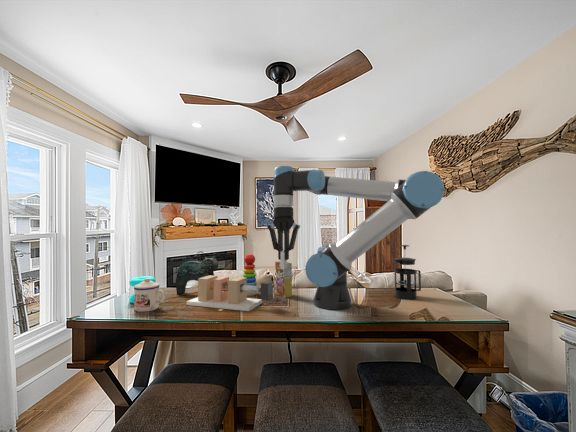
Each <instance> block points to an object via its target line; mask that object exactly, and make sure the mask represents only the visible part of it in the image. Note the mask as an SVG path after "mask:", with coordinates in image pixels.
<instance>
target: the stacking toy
mask: <svg viewBox="0 0 576 432" xmlns="http://www.w3.org/2000/svg"><path fill="white" fill-rule="evenodd" d="M255 261H256V257H255V255H254V254H252V253H247V254H246V255H245V256H244V263H245V264H244V266H243V271H242V272H243V274H242V277H245V278H247V285H249V286H258V282H257V277H256V276H257V274H256V269H255V268H256V265H255V264H254V263H255ZM258 293H259V292H247V297H252V296H256V295H258Z"/></svg>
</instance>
